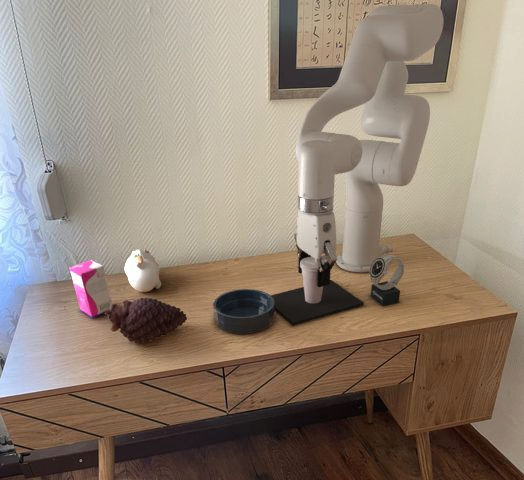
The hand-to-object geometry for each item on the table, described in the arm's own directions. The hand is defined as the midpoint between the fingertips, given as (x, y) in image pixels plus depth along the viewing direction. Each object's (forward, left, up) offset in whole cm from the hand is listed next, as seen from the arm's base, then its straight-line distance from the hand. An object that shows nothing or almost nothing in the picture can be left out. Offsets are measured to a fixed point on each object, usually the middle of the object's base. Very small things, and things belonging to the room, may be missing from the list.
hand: (313, 278), depth 121 cm
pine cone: (+39, -4, -7) cm, 39 cm away
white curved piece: (+33, -30, -7) cm, 45 cm away
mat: (0, 0, -6) cm, 6 cm away
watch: (-15, +7, -7) cm, 18 cm away
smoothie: (0, 0, -6) cm, 6 cm away
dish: (+18, -1, -6) cm, 19 cm away
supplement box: (+47, -22, -7) cm, 52 cm away
